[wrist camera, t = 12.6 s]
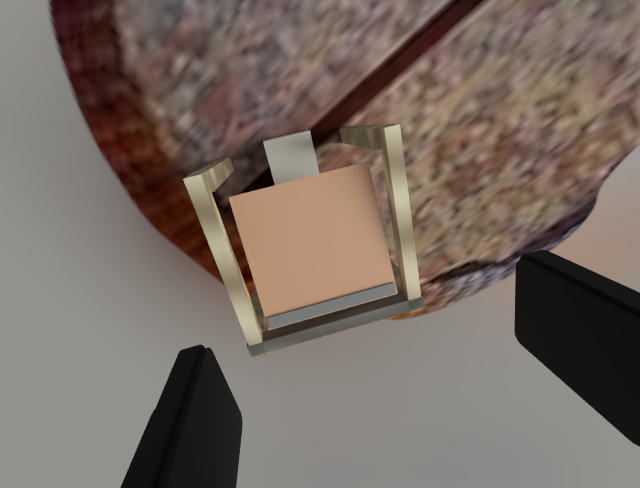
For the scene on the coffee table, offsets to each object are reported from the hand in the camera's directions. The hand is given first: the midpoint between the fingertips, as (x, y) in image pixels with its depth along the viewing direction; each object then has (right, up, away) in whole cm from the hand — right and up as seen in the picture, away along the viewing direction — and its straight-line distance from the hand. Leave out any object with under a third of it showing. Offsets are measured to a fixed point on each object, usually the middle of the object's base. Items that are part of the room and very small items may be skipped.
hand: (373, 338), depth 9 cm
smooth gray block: (-4, +9, +27) cm, 29 cm away
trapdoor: (-2, +3, +18) cm, 19 cm away
